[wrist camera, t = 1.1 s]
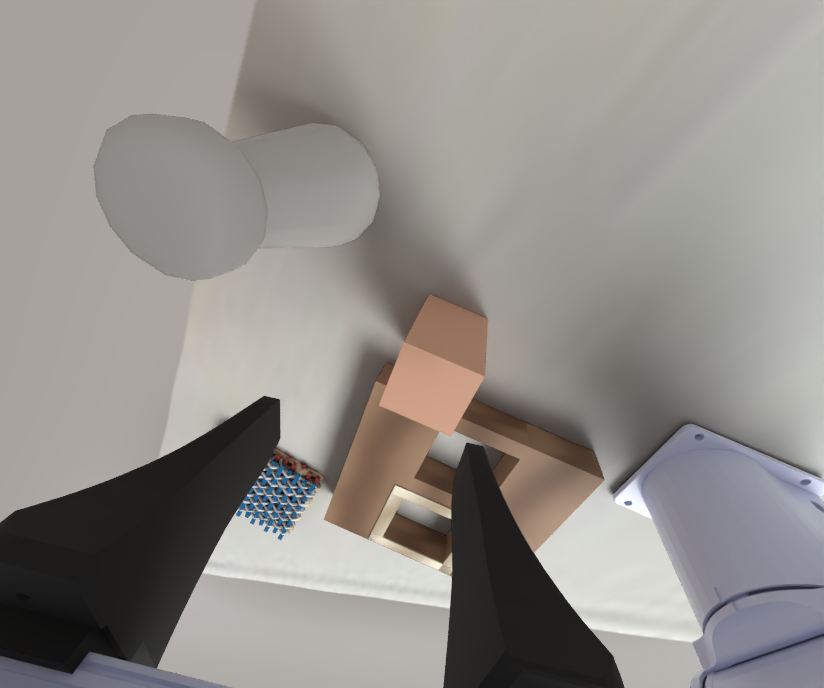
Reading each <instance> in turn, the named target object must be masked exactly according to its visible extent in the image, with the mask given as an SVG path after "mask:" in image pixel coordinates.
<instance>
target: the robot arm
mask: <svg viewBox="0 0 824 688" xmlns="http://www.w3.org/2000/svg"><path fill="white" fill-rule="evenodd" d="M697 434H700V435H699V436H695V435H697ZM279 440H280V399H276V398H271V397H267V396H263V397H262V398H260V399H259V400H257V401H256V402H254V403H253V404H251V405H250V406H248V407H247V408H245V409H243V410H242V411H240V412H239V413H237V414H236V415H234V416H233V417H231V418H230V419H228V420H227V421H225V422H223V423H222V424H220V425H219V426H217V427H216V428H214V429H212V430H211V431H209V432H207V433H206V434H204V435H202V436H200V437H199V438H197V439H195V440H194V441H192V442H190V443H188V444H187V445H185V446H183V447H181V448H179V449H177V450H175V451H173V452H172V453H170V454H168V455H165V456H163V457H161V458H159V459H157V460H155V461H153V462H151V463H149V464H146V465H144V466H142V467H140V468H137V469H135V470H132V471H130V472H128V473H125V474H123V475H121V476H118V477H116V478H114V479H111V480H108V481H105V482H103V483H100V484H98V485H95V486H92V487H89V488H86V489H84V490H81V491H78V492H75V493H72V494H69V495H66V496H63V497H60V498H57V499H53V500H50V501H47V502H43V503H40V504H37V505H34V506H30V507H27V508H24V509H20V510H17V511H15V512H13V513H12V514H11V515H9V516H8V517H7V518H6V519H4V520H3V521H2V522H1V523H0V688H231V687H228V686H223V685H220V684H216V683H212V682H207V681H204V680H200V679H196V678H192V677H187V676H183V675H180V674H176V673H172V672H168V671H164V670H160V669H157V666H158V664H159V662H160V660H161V657H162V655H163V653H164V651H165V649H166V646H167V644H168V642H169V640H170V637H171V636H172V633H173V631H174V629H175V627H176V625H177V623H178V620H179V618H180V616H181V614H182V612H183V610H184V608H185V606H186V604H187V602H188V600H189V598H190V595H191V594H192V592H193V590H194V588H195V585H196V583H197V582H198V580H199V578H200V576H201V574H202V572H203V570H204V568H205V566H206V564H207V562H208V560H209V558H210V556H211V554H212V553H213V551H214V549H215V547H216V545H217V543H218V541H219V540H220V538H221V536H222V534H223V532H224V530H225V528H226V527H227V525H228V524H229V522H230V520H231V519H232V517H233V515H234V514H235V512H236V511H237V509H238V508H239V506H240V505H241V503H242V502H243V500H244V499H245V497H246V496H247V494H248V493H249V491H250V490H251V488H252V487H253V485H254V484H255V482H256V481H257V479H258V478H259V476H260V475H261V473H262V472H263V470H264V469H265V467H266V465H267V464H268V462H269V460H270V458H271V456H272V454H273V453H274V451H275V448H276V446H277V444H278V442H279ZM822 495H824V479H821V478H819V477H817V476H814V475H812V474H809V473H807V472H805V471H802V470H800V469H798V468H795V467H793V466H791V465H788V464H786V463H784V462H781V461H779V460H777V459H774V458H772V457H769V456H767V455H765V454H762V453H760V452H758V451H755V450H753V449H751V448H748V447H746V446H744V445H741V444H739V443H737V442H734V441H732V440H729V439H727V438H725V437H722V436H720V435H718V434H715V433H713V432H711V431H708V430H706V429H704V428H701V427H699V426H697V425H694V424H687V425H684V426H683V427H681V428H680V429H679V430H678V431H677V432H676V433H675V434H674V435H673V436H672V437H671V438H670V439H669V440H668V441H667V442H666V443H665V444H664V445H663V446H662V447H661V448H660V449H659V450H658V451H657V452H656V453H655V454H654V455H653V456H652V457H651V458H650V459H649V460H648V461H647V462H646V463H645V464H644V465H643V466H642V467H641V468H640V469H639V470H638V471H637V472H635V473H634V474H633V475H632V476H631V477H630V478H629V479H628V480H627V481H626V482H625V483H624V484H623V485H622V486H621V487H620V488H619V489H618V490H617V491H616V492H615V493H614V494H613V499H614V501H615V503H617V504H619V505H621V506H623V507H626V508H628V509H630V510H633V511H635V512H637V513H640V514H642V515H644V516H647V517H649V518H651V519H652V520H653V522H654V524H655V526H656V529H657V531H658V533H659V535H660V538H661V540H662V542H663V544H664V547H665V549H666V551H667V553H668V555H669V558H670V560H671V562H672V564H673V567H674V569H675V571H676V573H677V576H678V578H679V580H680V582H681V585H682V587H683V589H684V591H685V594H686V596H687V598H688V600H689V603H690V605H691V607H692V609H693V612H694V614H695V616H696V618H697V620H698V623H699V625H700V627H701V629H702V632H703V636H702V637H701V638H699V639H698V640H696V641H694V642H693V646H694V648H695V651H696V653H697V656H698V658H699V660H700V663H701V665H702V668H703V669H701V670H699V671H698V672H696V673H695V674H694V676H693V678H692V680H691V685H690V688H824V502H823V501H822V500H821V499H820V498H819V497H821V496H822ZM628 500H629V501H628ZM451 534H452V589H451V604H450V618H449V631H448V644H447V654H446V665H445V676H444V687H443V688H624V685H623V681H622V678H621V676H620V673H619V670H618V668H617V665H616V663H615V660H614V657H613V655H612V654H611V653H610V652H609V651H608V650H607V648H606V647H605V646H604V645H603V644H602V643H601V641H600V640H599V639H598V638H597V637H596V636H595V635H594V633H593V632H592V631H591V630H590V629H589V628H588V626H587V625H586V624H585V623H584V622H583V621H582V619H581V618H580V617H579V616H578V614H577V613H576V612H575V611H574V609H573V608H572V607H571V605H570V604H569V603H568V602H567V600H566V599H565V598H564V596H563V595H562V593H561V592H560V591H559V589H558V588H557V586H556V585H555V584H554V582H553V581H552V579H551V578H550V577H549V575H548V574H547V572H546V571H545V570H544V568H543V567H542V565H541V563H540V562H539V560H538V559H537V557H536V556H535V554H534V552H533V551H532V549H531V548H530V546H529V544H528V543H527V541H526V539H525V537H524V536H523V534H522V532H521V530H520V528H519V527H518V525H517V523H516V521H515V519H514V517H513V515H512V513H511V511H510V509H509V507H508V505H507V503H506V501H505V499H504V496H503V494H502V492H501V490H500V488H499V485H498V483H497V481H496V478H495V476H494V473H493V471H492V468H491V466H490V463H489V460H488V457H487V455H486V452H485V449H484V447H483V446H479V445H475V444H471V443H466V446H465V449H464V451H463V454H462V457H461V460H460V462H459V465H458V468H457V471H456V473H455V476H454V479H453V489H452V501H451Z"/></svg>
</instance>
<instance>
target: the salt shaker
mask: <svg viewBox="0 0 824 688" xmlns="http://www.w3.org/2000/svg"><path fill="white" fill-rule="evenodd" d="M94 175H95V187H96V197H97V199H98V201H99V203H100V205H101V208H102V210H103V212H104V214H105V216H106V219H107V221H108V223H109V225H110V227H111V228H112V229H113V231H114V232H115V233H116V234H117V236H118V237H119V238H120V239H121V240H122V242H123V243H124V244H125V245H126V247H127V248H128V249H129V250H130V251H131V252H132V253H133V254H135V255H136V256H137V257H139V258H140V259H142V260H143V261H145V262H146V263H148V264H149V265H151V266H152V267H154V268H156V269H157V270H159V271H160V272H162V273H163V274H165V275H168V276H173V277H177V278H182V279H187V280H191V281H196V280H204V279H210V278H213V277H216V276H219V275H222V274H224V273H227V272H230V271H233V270H235V269H237V268H239V267H241V266H243V265H245V264H246V263H247V262H248V261H249V259H250V258H251V257H252V255H253V254H254V253H255V251H256V250H257V249H261V248H301V247H336V246H339V245H342V244H344V243H347V242H350V241H353V240H355V239H357V238H358V237H359V236H360V235H361V233H362V232H363V231H364V230H365V229H366V228H367V227H368V226H369V225H370V224H371V223H372V222H373V220H374V217H375V213H376V210H377V206H378V202H379V198H380V190H379V181H378V172H377V168H376V166H375V165H374V163H373V161H372V159H371V158H370V156H369V154H368V152H367V151H366V149H365V147H364V145H363V144H362V143H360V142H359V141H358V140H356V139H355V138H353V137H352V136H351V135H349V134H348V133H347V132H345V131H344V130H343V129H341V128H340V127H339V126H334V125H326V124H318V123H309V124H305V125H301V126H297V127H292V128H288V129H284V130H280V131H275V132H271V133H267V134H263V135H259V136H254V137H250V138H246V139H242V140H237V141H233V142H231V141H230V140H228V139H227V138H226V137H224V136H223V135H221V134H220V133H219V132H217V131H216V130H214V129H213V128H212V127H210V126H209V125H207V124H206V123H204V122H201V121H197V120H192V119H189V118H183V117H175V116H166V115H158V114H144V115H133V116H130V117H128V118H126V119H124V120H123V121H121V122H119V123H118V124H116V125H114V126H112V127H111V128H109V129H107V130H106V133H105V136H104V138H103V141H102V144H101V147H100V150H99V152H98V156H97V158H96V161H95V164H94Z"/></svg>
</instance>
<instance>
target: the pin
mask: <svg viewBox="0 0 824 688" xmlns="http://www.w3.org/2000/svg"><path fill="white" fill-rule="evenodd" d="M487 326H488V319H487V318H485V317H482V316H480V315H478V314H475V313H473V312H471V311H468V310H466V309H464V308H461V307H459V306H457V305H454V304H452V303H449V302H447V301H445V300H442V299H440V298H438V297H435V296H433V295H431V294H429V296H428V297H427V299H426V301H425V303H424V305H423V307H422V309H421V311H420V313H419V314H418V316H417V318H416V320H415V322H414V324H413V326H412V328H411V330H410V331H409V333H408V335H407V337H406V339H405V341H404V343H403V345H402V348H401V351H400V353H399V356H398V358H397V361H396V363H395V366H394V368H393V371H392V373H391V376H390V378H389V381H388V383H387V386H386V388H385V391H384V393H383V396H382V398H381V401H380V403H379V406H381V407H384V408H386V409H388V410H391V411H393V412H395V413H398V414H400V415H402V416H404V417H407V418H409V419H411V420H414V421H416V422H418V423H421V424H423V425H425V426H428V427H430V428H432V429H434V430H437V431H439V432H441V433H444V434H446V435H448V436H451V435H452V433H453V432H454V430H455V428H456V426H457V425H458V423H459V421H460V419H461V418H462V416H463V414H464V412H465V411H466V409H467V407H468V405H469V404H470V402H471V400H472V398H473V396H474V395H475V393H476V391H477V389H478V388H479V386H480V384H481V382H482V381H483V379H484V377H485V364H486V345H487Z"/></svg>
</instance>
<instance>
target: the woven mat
mask: <svg viewBox="0 0 824 688" xmlns="http://www.w3.org/2000/svg"><path fill="white" fill-rule="evenodd" d="M273 454H275V456H271V458H270V460H269V462H268V464H267V465H266V467H267V468H266V467H265V469H264V470H263V472H262V473H261V475H260V476H259V478H258V479H257V481H256V482H255V484H254V485H253V487H252V488H251V490H250V491H249V493H248V494H247V496H246V497H245V499H244V500H243V502H242V503H241V505H240V506H239V508H238V509H239V511H238V512H237V514H236V515H237V516H240V515H241V513H242V511H247V512H246V514H245V517H247V518H248V517H249V516H250V514H251V515H252V517H253V519H252V520H251V522H250V523H251V524H254V522H255V520H256V519H261V520H260V522H259V525H261V526H262V524H263V523H264V522H265V523H266V525H267V526H266V527H265V529H264V531H265V532H267V531H268V529H269V528H270V527H275V528H274V530H273V533H276V532H277V530H278V529H279V530H280V532H281V534H280V535H279V537H278V539H280V540H281V539H282V537H283V536H284V535H286V534H290V531H293V530H294V526H295V521H299V520H301V514H300V513H304V511H306V510H305V507H308V506H309V505H310V503H312V502H313V497H315V495H316V494H317V492H316V491H320V490H321V486H320V484H319V482H318V481H319V480H322V479H323V478H324V476H322V475H321V474H319V473H317V472H316V471H314V470H312V469H310V468H306V467H307V466H306V465H304V464H303V465H301V463H300V462H298V461H296V460H295V459H293V458H291V457H290V456H288V455H286V454H284V453H282V452H281V451H279V450H277V449H276V448H275V451H274V453H273ZM283 459H284V462H283ZM279 461H280V462H279ZM288 462H289V463H291V464H292V466H289V465H287V463H288ZM275 472H276V474H275ZM292 473H293V474H294V475H292ZM311 476H313V477H315V480H313V479H312V478H310V477H311ZM259 480H261V481H262V483H260V481H259ZM300 480H301V481H303V482H301V481H300ZM277 483H278V484H277ZM296 484H297V485H296ZM306 484H309V485H311V486H308V485H306ZM298 485H299V486H298ZM286 488H288V489H286ZM305 489H306V490H308V491H307V492H306V490H305ZM291 491H292V492H291ZM281 492H282V493H284V494H285V495H284V494H280V493H281ZM311 493H314V494H311ZM272 496H273V497H272ZM289 497H291V498H293V499H292V500H290V498H289ZM277 499H278V500H277ZM267 500H268V501H270V502H267ZM295 501H298V503H295ZM275 504H276V505H277V506H278V507H277V508H276V506H275ZM254 508H256V509H257V510H253V509H254ZM281 508H283V509H284V510H281ZM261 512H263V513H264V515H262V513H261ZM254 513H255V514H254ZM290 514H292V515H290ZM267 516H270V517H271V518H267ZM267 520H269V522H268V521H267ZM275 520H277V521H278V523H276V522H275ZM286 521H288V522H286ZM272 523H273V524H272ZM280 525H281V526H280ZM287 532H288V533H287Z"/></svg>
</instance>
